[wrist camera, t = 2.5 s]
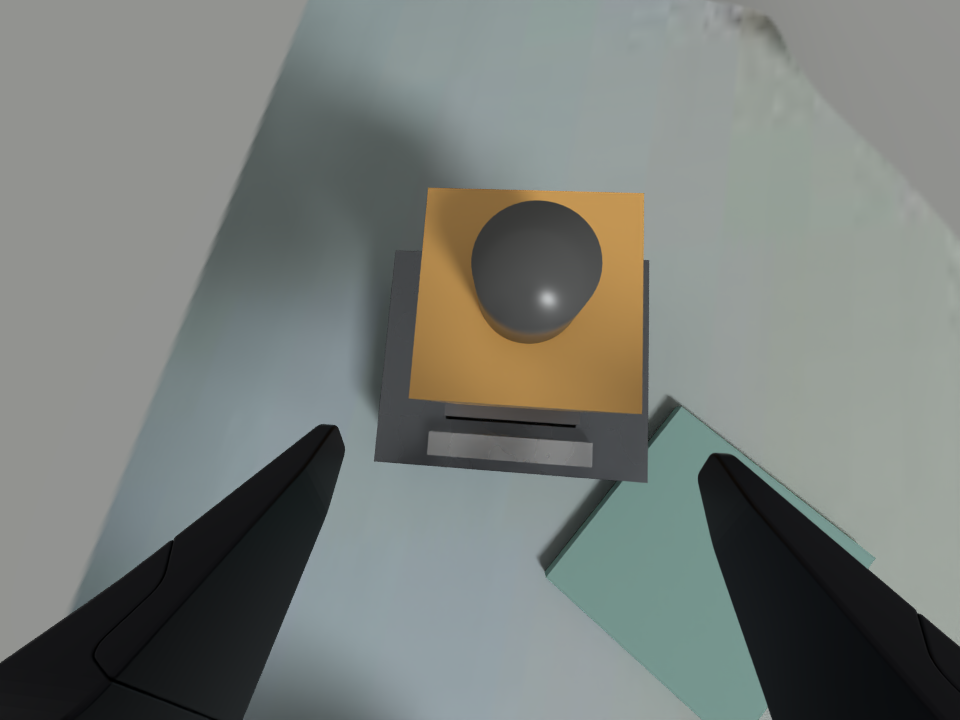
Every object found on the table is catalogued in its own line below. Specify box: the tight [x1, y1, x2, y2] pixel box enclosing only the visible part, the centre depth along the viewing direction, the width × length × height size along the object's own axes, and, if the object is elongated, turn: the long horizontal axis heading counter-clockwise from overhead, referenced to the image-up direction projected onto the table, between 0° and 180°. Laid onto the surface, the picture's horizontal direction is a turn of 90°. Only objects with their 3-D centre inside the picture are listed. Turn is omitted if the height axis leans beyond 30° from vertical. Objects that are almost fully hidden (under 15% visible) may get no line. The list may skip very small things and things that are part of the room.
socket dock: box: [374, 251, 649, 483], centre depth 18 cm, size 10×12×4 cm
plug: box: [409, 188, 644, 425], centre depth 13 cm, size 5×5×15 cm
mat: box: [545, 407, 875, 720], centre depth 18 cm, size 11×11×1 cm
